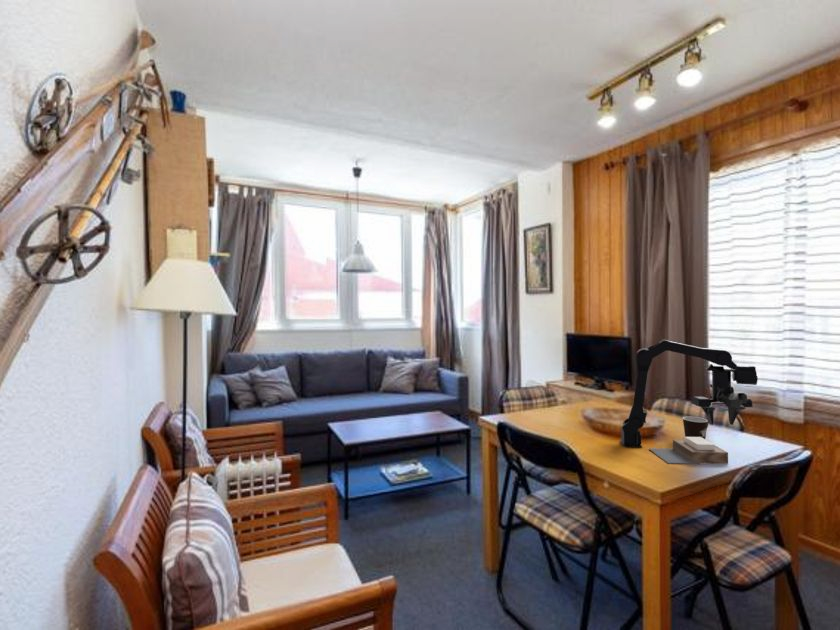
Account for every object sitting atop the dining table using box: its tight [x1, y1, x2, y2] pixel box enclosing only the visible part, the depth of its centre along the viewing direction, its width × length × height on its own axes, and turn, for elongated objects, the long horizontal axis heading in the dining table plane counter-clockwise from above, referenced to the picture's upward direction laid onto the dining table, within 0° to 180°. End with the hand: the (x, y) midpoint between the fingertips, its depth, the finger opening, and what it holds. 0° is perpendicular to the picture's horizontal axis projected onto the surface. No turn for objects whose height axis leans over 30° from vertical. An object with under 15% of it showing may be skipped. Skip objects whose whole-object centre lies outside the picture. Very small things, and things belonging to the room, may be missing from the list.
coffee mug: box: [682, 416, 709, 440], centre depth 172 cm, size 12×9×10 cm
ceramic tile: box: [683, 436, 716, 450], centre depth 158 cm, size 6×9×2 cm, turn 175°
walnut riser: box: [672, 439, 729, 465], centre depth 158 cm, size 12×14×4 cm
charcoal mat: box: [648, 448, 701, 465], centre depth 158 cm, size 11×15×1 cm
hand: (721, 424), depth 157 cm, fingers open, 7 cm apart
